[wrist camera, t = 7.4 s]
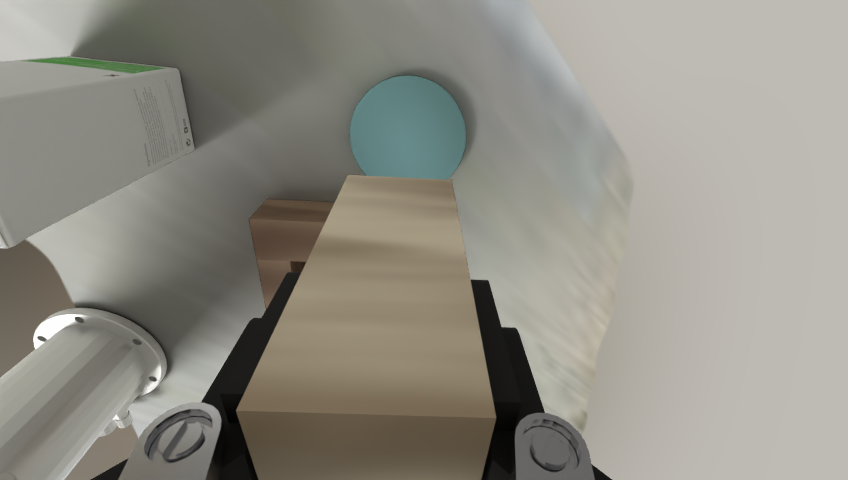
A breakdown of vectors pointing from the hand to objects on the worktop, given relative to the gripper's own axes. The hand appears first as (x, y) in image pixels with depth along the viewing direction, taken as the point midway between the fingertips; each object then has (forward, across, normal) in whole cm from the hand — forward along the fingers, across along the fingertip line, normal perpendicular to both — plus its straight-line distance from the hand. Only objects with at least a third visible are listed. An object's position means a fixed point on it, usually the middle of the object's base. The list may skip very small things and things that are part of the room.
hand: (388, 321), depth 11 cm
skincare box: (+22, +21, -1) cm, 31 cm away
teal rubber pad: (+22, 0, 0) cm, 22 cm away
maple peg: (+6, 0, 0) cm, 6 cm away
